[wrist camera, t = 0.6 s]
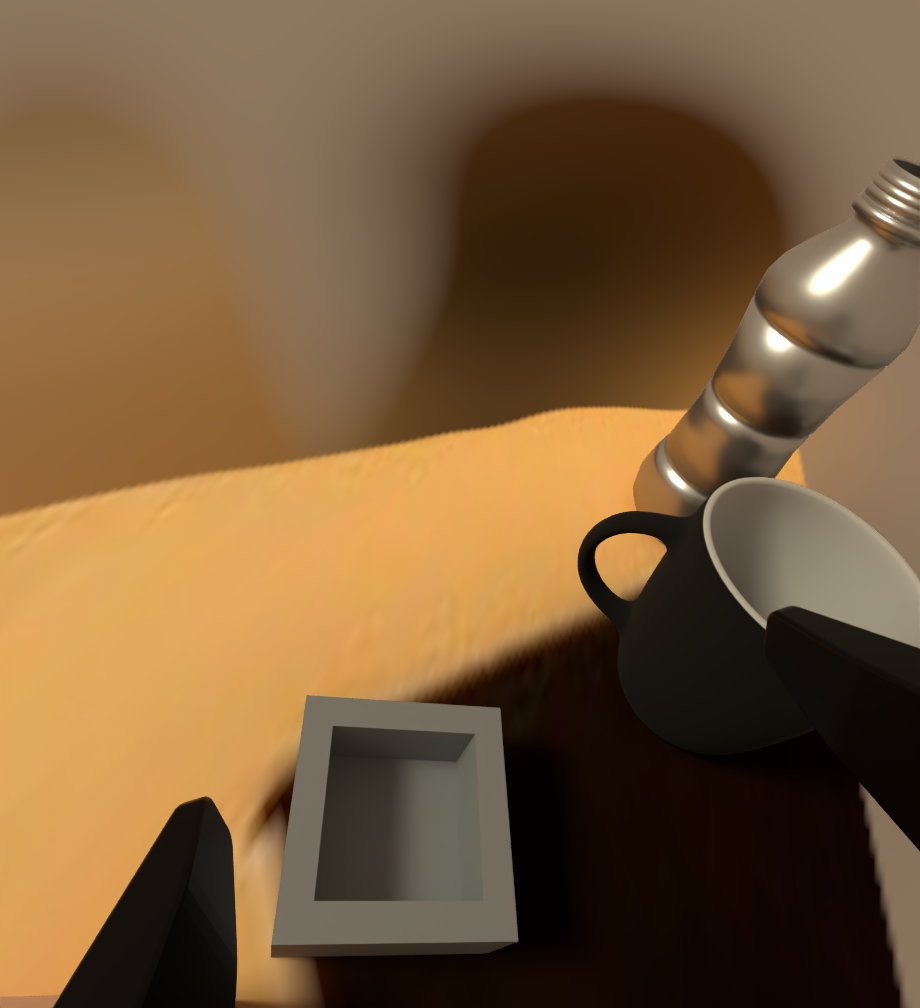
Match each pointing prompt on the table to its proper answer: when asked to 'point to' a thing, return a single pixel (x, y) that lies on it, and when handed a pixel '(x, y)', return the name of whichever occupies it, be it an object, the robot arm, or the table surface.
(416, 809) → the socket block
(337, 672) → the table surface
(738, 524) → the mug
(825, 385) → the plastic bottle
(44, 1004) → the square box
